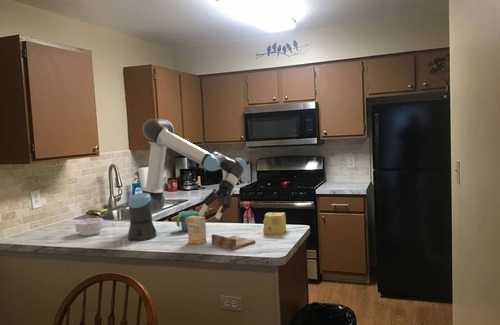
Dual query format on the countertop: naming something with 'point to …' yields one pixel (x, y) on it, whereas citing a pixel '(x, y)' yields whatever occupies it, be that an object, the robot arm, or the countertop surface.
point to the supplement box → (196, 229)
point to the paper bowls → (89, 226)
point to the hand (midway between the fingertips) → (208, 216)
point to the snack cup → (185, 219)
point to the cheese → (274, 223)
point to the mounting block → (231, 241)
